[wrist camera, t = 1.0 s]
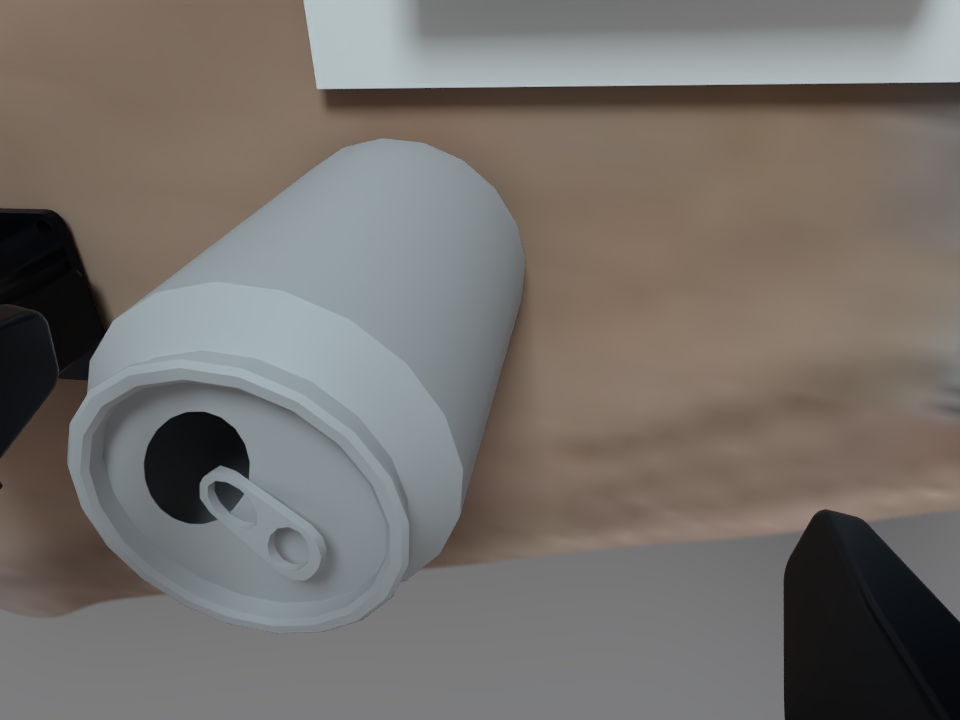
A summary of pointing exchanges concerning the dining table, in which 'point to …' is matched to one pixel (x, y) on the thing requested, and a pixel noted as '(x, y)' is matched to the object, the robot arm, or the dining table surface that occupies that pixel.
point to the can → (306, 393)
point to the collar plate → (630, 42)
